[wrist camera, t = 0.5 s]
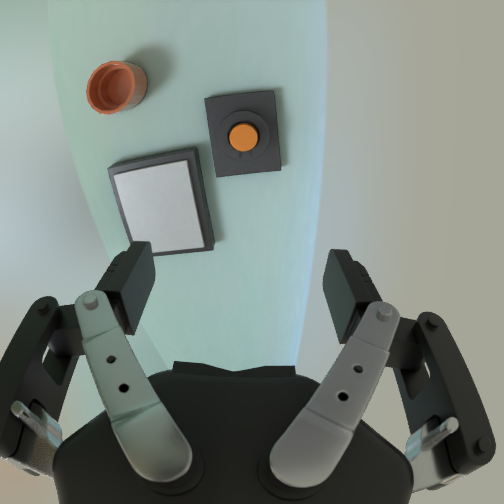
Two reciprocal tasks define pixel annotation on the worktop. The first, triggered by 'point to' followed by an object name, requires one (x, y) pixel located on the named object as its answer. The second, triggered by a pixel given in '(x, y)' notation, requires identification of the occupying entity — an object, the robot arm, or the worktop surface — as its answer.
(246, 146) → the tare button
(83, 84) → the worktop surface
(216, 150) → the block
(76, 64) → the worktop surface
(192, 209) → the scale
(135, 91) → the copper cup
